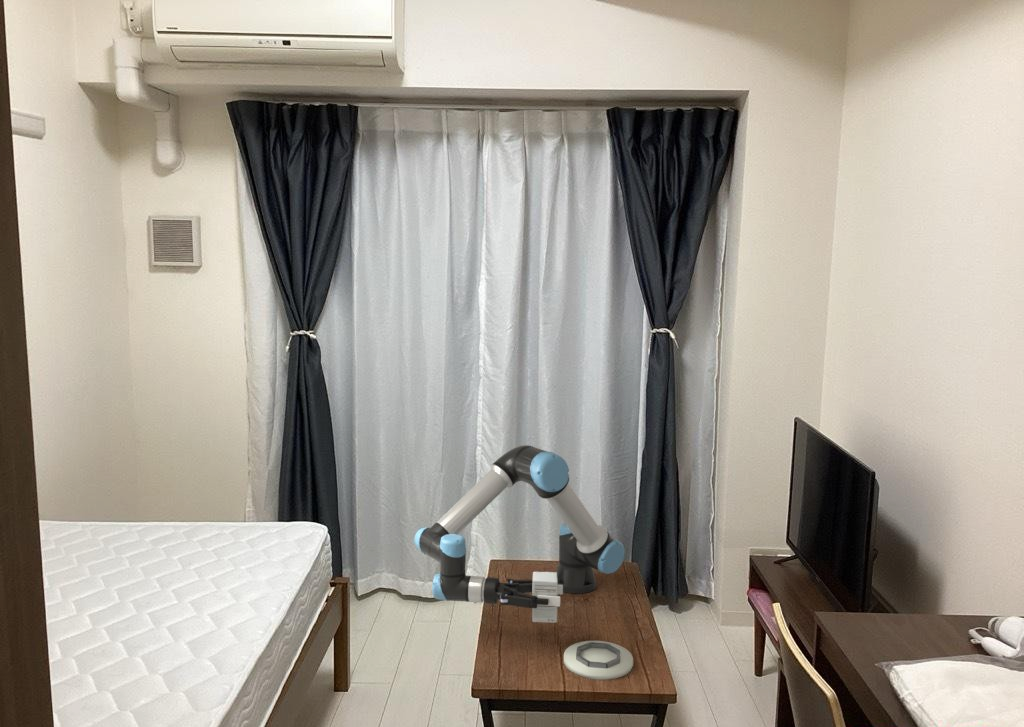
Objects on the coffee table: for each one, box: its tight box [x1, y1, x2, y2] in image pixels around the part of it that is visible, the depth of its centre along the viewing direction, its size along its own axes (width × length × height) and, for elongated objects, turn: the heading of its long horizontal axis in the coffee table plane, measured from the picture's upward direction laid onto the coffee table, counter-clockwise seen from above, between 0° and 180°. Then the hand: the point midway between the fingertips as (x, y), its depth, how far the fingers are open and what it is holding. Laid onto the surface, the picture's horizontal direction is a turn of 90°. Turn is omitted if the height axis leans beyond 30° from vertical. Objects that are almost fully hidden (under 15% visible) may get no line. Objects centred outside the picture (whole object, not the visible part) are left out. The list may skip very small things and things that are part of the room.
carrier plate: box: [563, 640, 634, 681], centre depth 231 cm, size 20×20×2 cm
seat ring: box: [576, 642, 620, 668], centre depth 231 cm, size 13×13×1 cm
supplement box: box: [531, 571, 559, 624], centre depth 234 cm, size 7×7×13 cm
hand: (561, 595), depth 234 cm, fingers closed on supplement box, 8 cm apart
